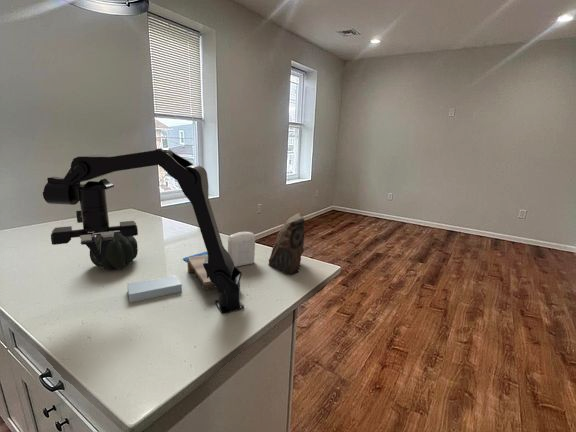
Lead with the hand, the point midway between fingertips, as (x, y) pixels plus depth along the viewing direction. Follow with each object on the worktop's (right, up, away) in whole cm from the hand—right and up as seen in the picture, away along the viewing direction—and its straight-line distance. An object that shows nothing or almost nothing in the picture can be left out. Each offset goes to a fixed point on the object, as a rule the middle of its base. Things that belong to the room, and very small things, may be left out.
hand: (100, 262), depth 82 cm
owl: (+49, -7, +32) cm, 59 cm away
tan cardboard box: (+25, -9, +18) cm, 32 cm away
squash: (-10, -5, +26) cm, 28 cm away
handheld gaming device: (+19, -4, +36) cm, 41 cm away
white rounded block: (+33, -6, +32) cm, 46 cm away
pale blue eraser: (+10, -10, +10) cm, 17 cm away
